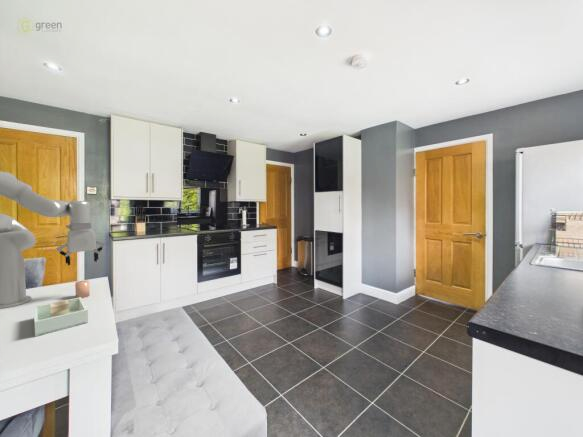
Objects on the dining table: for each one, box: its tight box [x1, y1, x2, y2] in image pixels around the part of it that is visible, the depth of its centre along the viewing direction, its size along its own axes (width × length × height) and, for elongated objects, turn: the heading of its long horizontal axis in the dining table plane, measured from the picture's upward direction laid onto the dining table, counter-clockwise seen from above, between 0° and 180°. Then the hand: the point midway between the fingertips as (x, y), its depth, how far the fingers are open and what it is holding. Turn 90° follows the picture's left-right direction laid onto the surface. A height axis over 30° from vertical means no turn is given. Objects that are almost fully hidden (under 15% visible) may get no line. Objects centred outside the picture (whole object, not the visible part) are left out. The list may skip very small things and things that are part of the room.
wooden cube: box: [50, 299, 69, 317], centre depth 94 cm, size 5×5×5 cm
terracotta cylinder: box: [74, 280, 90, 299], centre depth 116 cm, size 5×5×7 cm
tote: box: [33, 297, 89, 338], centre depth 92 cm, size 18×14×5 cm
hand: (82, 262), depth 116 cm, fingers open, 9 cm apart
